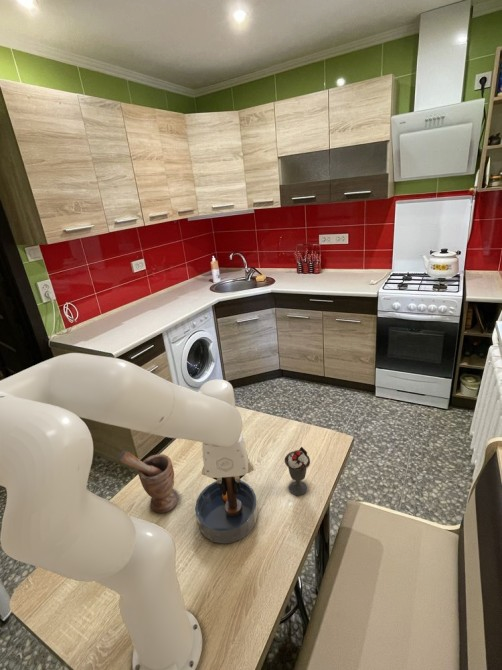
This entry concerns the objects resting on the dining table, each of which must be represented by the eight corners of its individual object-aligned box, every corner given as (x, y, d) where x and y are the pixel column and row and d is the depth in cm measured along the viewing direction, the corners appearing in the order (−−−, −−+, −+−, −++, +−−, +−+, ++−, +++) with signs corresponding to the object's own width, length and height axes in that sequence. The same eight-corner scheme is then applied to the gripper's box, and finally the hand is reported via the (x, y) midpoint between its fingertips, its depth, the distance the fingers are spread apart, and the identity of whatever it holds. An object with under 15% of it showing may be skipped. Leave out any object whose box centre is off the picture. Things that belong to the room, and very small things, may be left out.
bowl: (258, 542, 81) (257, 528, 79) (194, 547, 82) (191, 533, 80) (256, 489, 95) (255, 476, 93) (201, 494, 95) (199, 480, 93)
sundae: (290, 501, 91) (288, 457, 85) (283, 481, 97) (280, 439, 91) (314, 495, 92) (313, 452, 86) (305, 476, 98) (304, 434, 92)
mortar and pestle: (145, 529, 87) (127, 470, 79) (132, 507, 93) (114, 450, 85) (185, 502, 93) (172, 445, 85) (170, 483, 100) (157, 428, 91)
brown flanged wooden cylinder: (242, 515, 86) (237, 480, 81) (224, 517, 86) (218, 481, 81) (242, 500, 90) (237, 465, 85) (225, 502, 90) (219, 467, 85)
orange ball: (234, 504, 91) (232, 496, 90) (222, 505, 91) (221, 496, 90) (234, 494, 94) (233, 486, 92) (223, 495, 94) (222, 487, 92)
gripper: (184, 446, 75) (196, 505, 82) (257, 440, 74) (263, 500, 82) (189, 423, 82) (200, 480, 89) (256, 418, 81) (262, 476, 89)
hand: (230, 489), depth 85 cm, fingers closed on brown flanged wooden cylinder, 2 cm apart
